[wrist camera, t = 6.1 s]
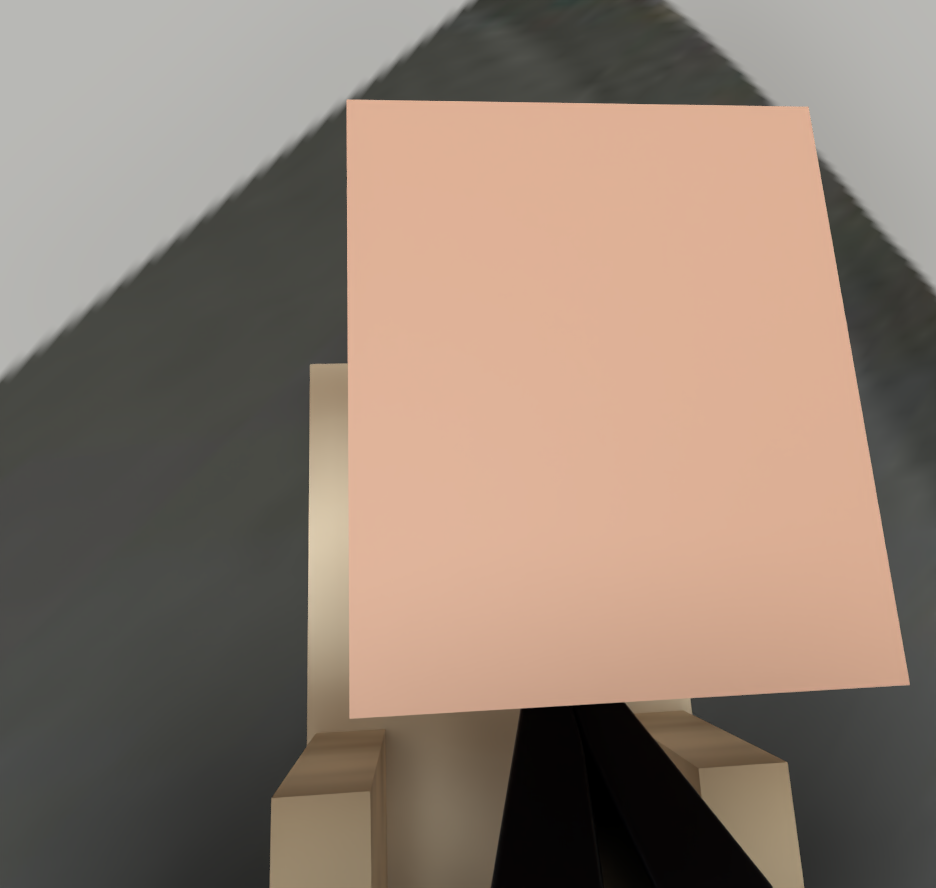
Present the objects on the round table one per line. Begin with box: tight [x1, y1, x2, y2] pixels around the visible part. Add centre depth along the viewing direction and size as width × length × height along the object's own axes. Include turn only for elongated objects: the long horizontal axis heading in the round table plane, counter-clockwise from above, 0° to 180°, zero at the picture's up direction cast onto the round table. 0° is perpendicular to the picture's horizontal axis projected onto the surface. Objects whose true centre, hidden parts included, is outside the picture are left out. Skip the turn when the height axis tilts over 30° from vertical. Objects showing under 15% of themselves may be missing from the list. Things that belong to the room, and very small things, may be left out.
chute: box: [270, 364, 804, 888], centre depth 13 cm, size 19×9×6 cm, turn 2°
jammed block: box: [347, 100, 910, 719], centre depth 11 cm, size 6×5×10 cm
